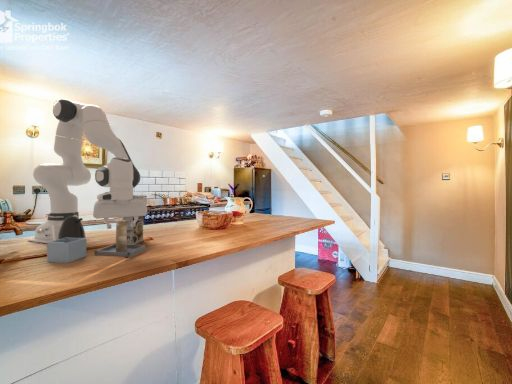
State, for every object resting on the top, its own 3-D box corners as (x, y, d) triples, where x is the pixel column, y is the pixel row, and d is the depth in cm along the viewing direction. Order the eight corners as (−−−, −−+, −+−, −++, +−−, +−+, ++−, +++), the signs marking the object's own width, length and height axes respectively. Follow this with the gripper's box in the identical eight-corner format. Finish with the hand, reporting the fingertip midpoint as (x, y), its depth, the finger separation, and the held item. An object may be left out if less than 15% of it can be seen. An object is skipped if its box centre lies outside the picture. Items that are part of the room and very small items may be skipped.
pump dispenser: (70, 253, 102) (70, 217, 102) (50, 251, 104) (50, 216, 104) (91, 247, 112) (91, 215, 112) (73, 246, 114) (73, 214, 114)
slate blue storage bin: (47, 263, 90) (47, 242, 89) (67, 256, 98) (67, 237, 98) (68, 264, 89) (68, 243, 89) (86, 258, 97) (86, 238, 97)
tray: (94, 256, 100) (94, 250, 100) (114, 248, 112) (114, 243, 112) (129, 258, 98) (129, 252, 98) (145, 250, 110) (145, 245, 110)
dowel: (113, 251, 103) (114, 221, 103) (120, 249, 107) (120, 220, 107) (122, 252, 103) (122, 221, 102) (128, 249, 107) (128, 220, 106)
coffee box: (134, 245, 119) (135, 212, 118) (121, 244, 119) (122, 211, 119) (143, 240, 128) (144, 210, 128) (131, 240, 128) (131, 209, 128)
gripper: (145, 194, 113) (145, 224, 114) (92, 195, 100) (92, 228, 101) (149, 195, 109) (149, 226, 109) (94, 196, 96) (94, 231, 96)
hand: (121, 227), depth 105 cm, fingers open, 8 cm apart
